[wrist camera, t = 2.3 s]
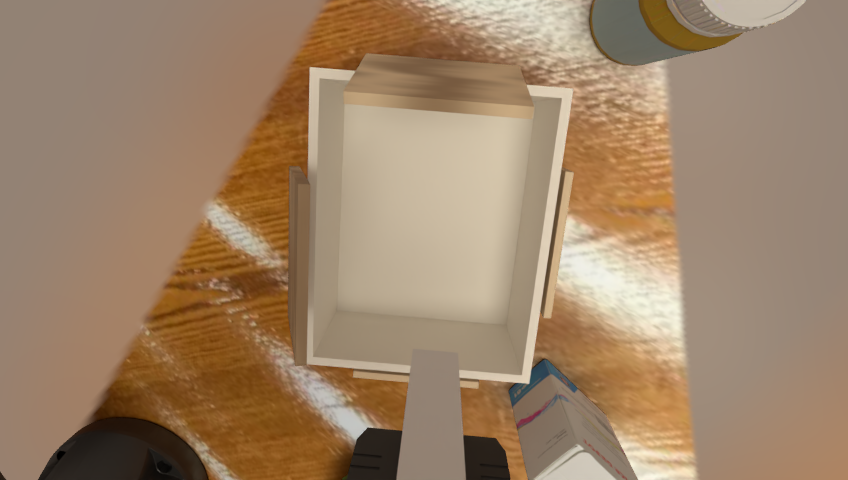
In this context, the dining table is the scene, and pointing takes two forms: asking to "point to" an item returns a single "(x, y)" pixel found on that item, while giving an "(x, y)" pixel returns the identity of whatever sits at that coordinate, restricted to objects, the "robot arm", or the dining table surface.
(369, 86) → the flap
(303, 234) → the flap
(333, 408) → the dining table surface
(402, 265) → the carton
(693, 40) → the bottle
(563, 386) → the ink box
